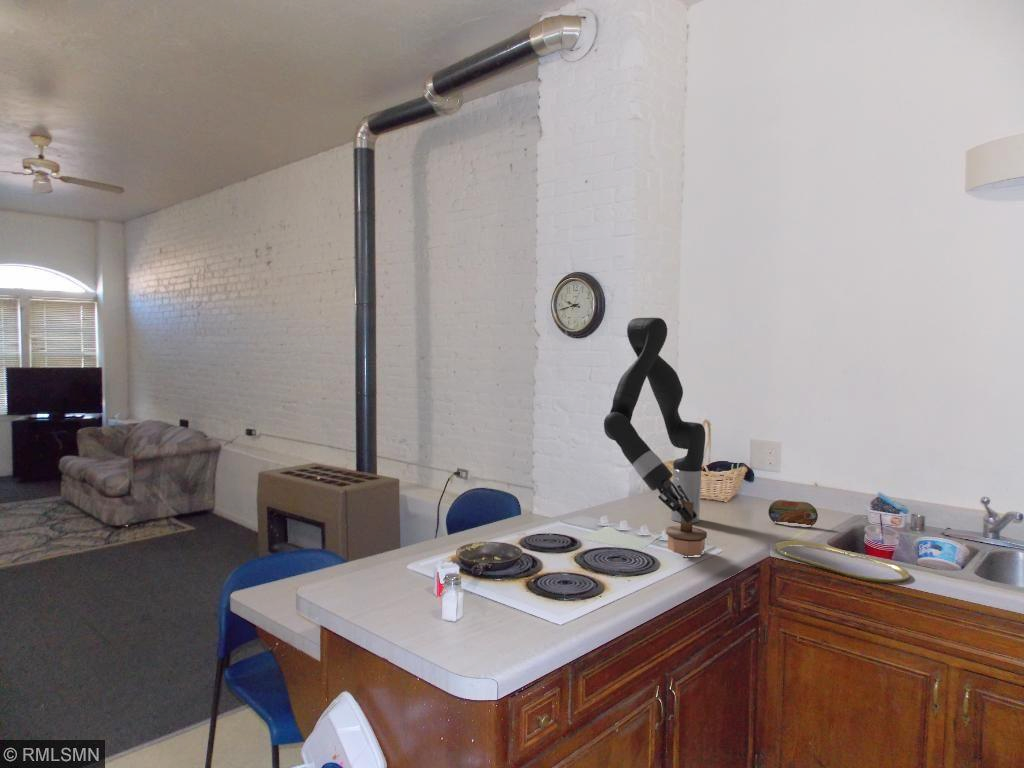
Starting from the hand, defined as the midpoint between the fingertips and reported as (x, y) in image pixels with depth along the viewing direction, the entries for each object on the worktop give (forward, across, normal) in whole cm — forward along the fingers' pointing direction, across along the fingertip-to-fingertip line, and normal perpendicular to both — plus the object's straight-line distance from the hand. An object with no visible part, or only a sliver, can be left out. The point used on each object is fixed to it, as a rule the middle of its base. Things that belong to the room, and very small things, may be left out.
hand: (692, 519), depth 176 cm
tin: (+19, +55, -5) cm, 59 cm away
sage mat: (-8, 0, +21) cm, 23 cm away
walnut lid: (+2, 0, +4) cm, 5 cm away
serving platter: (+32, +18, -17) cm, 40 cm away
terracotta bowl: (+6, 0, +8) cm, 10 cm away
